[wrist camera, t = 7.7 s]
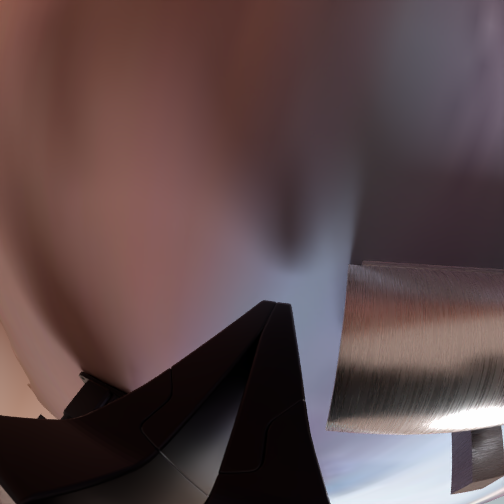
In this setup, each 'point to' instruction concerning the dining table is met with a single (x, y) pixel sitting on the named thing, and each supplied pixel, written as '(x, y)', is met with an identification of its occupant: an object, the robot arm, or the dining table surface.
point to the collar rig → (476, 459)
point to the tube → (420, 350)
